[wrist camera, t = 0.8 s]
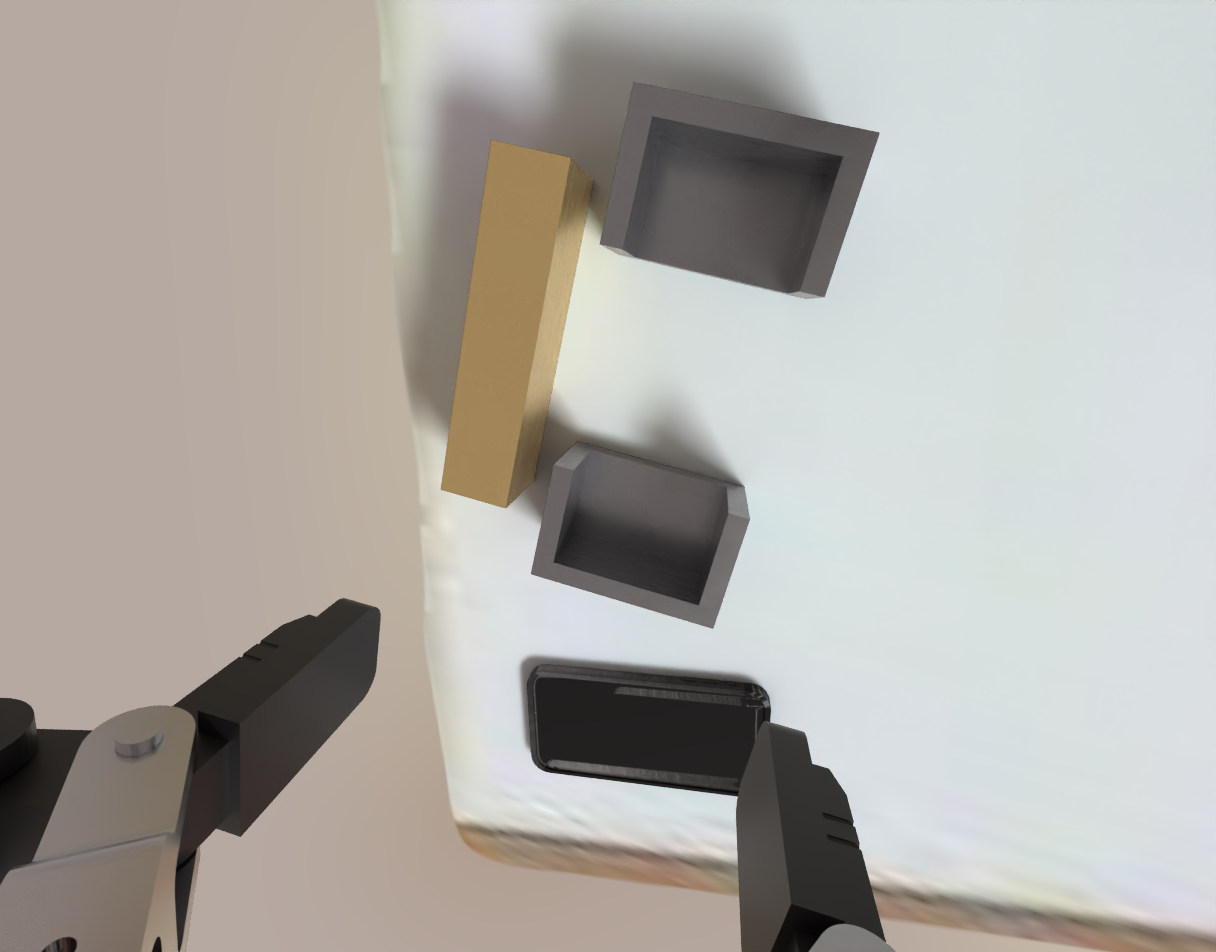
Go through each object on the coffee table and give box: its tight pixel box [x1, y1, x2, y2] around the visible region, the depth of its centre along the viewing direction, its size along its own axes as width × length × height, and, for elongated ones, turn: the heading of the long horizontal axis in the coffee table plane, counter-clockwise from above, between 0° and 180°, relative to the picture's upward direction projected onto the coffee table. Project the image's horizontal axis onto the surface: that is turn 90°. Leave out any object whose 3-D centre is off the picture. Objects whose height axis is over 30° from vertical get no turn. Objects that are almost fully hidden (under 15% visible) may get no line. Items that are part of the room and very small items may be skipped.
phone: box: [527, 665, 771, 796], centre depth 36 cm, size 8×1×15 cm
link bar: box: [441, 140, 594, 508], centre depth 29 cm, size 16×4×5 cm, turn 167°
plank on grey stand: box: [531, 82, 879, 629], centre depth 28 cm, size 22×10×5 cm, turn 167°
